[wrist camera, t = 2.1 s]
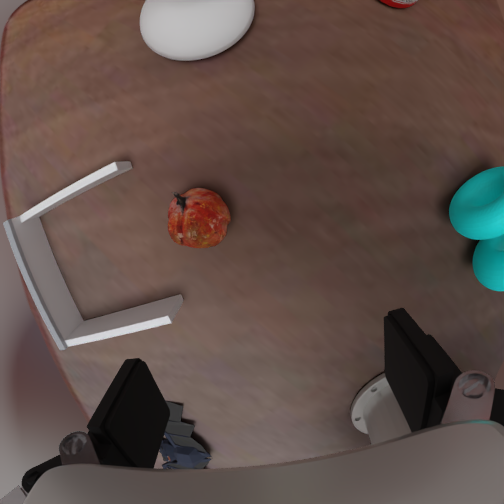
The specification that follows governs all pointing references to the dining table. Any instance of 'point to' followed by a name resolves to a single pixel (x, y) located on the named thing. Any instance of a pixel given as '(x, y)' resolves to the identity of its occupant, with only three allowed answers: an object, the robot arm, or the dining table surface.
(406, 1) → the beer can
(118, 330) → the box
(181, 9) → the flower in vase
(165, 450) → the decorative bat
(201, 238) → the pomegranate
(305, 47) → the dining table surface
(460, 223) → the donuts
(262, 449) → the dining table surface
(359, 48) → the dining table surface
